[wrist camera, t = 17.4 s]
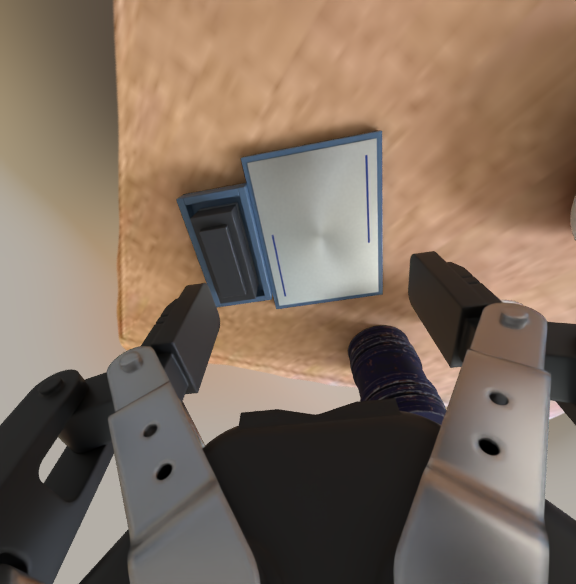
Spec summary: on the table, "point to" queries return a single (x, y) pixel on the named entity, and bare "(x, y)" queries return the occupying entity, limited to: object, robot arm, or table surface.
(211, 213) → the eraser
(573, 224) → the cereal bowl
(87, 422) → the robot arm
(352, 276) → the whiteboard
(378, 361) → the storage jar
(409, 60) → the table surface
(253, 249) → the eraser holder
